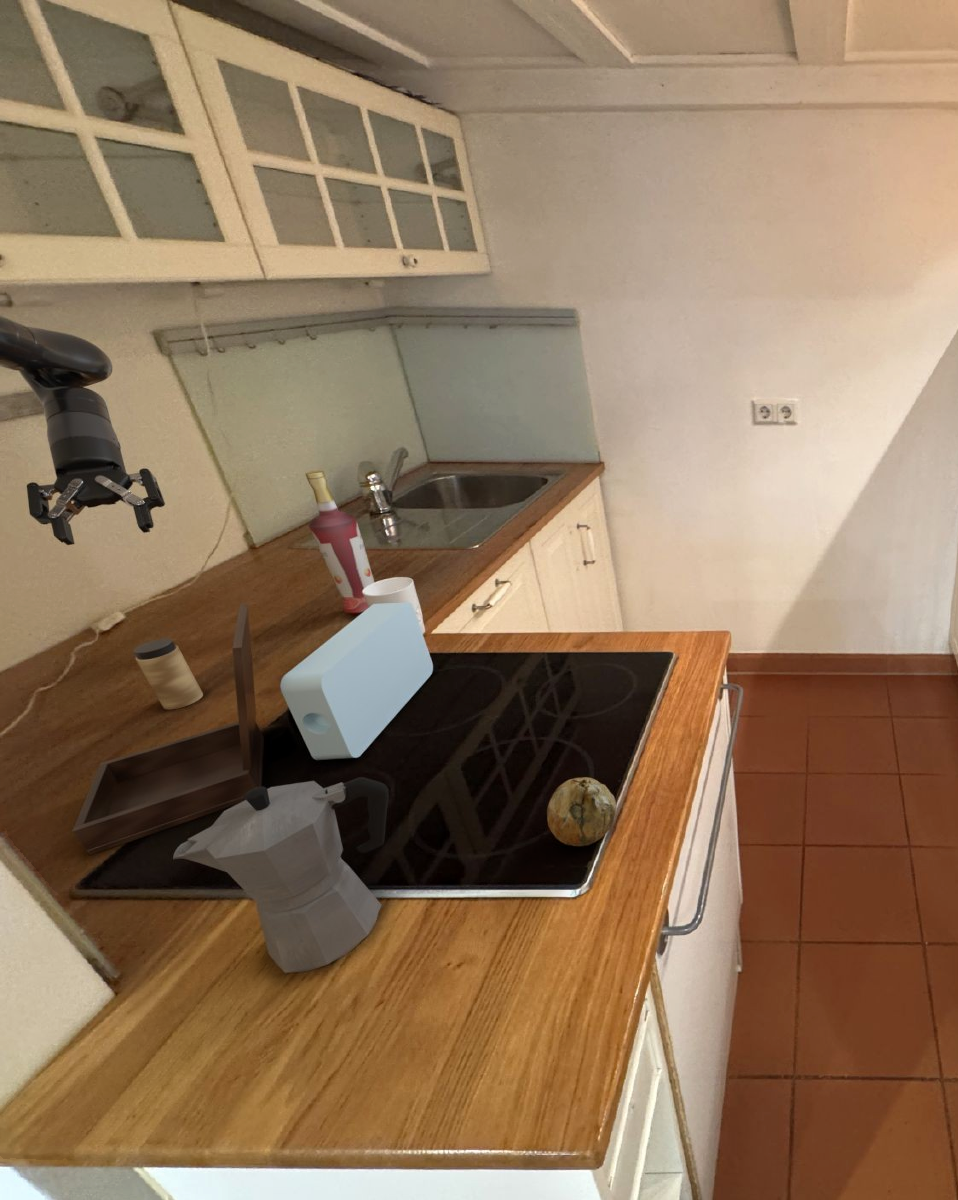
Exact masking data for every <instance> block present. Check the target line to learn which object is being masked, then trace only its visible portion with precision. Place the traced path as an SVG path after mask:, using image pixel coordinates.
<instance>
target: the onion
mask: <svg viewBox="0 0 958 1200" xmlns="http://www.w3.org/2000/svg"><path fill="white" fill-rule="evenodd" d="M617 809H618V807H617V800H616V798H615V796H614V794H613V793H612V792H611V791H610V789H609V788H608V787H607V786H606V784H604V783H601V782H600V781H598V780H597V779H594V777H593V778H592V777H588V776H584V777H583V776H582V777H574V778H570V779H568V780H566V781H564V782H563V783H561V784H560V785H559V786H558V787H557V788H556V789H555V791H554V792H553V794H552V795H551V797H550V799H549V801H548V804H547V809H546V815H547V817H546V818H547V819H546V821H547V826H548V828H549V830H550V832H551V833H552V835H553V836H554V837H555V839H557V840H558V841H559V842H560V843H562V844H564V845H567V846H573V847H585V846H590V845H592V844H594V843H596V842H597V841H599V840H601V839H602V838H603V837H604V836H605V835H606V834H607V833H608V832H609V831H610V830H611V829H612V827H613V825H614V823H615V820H616V816H617Z"/></svg>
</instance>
